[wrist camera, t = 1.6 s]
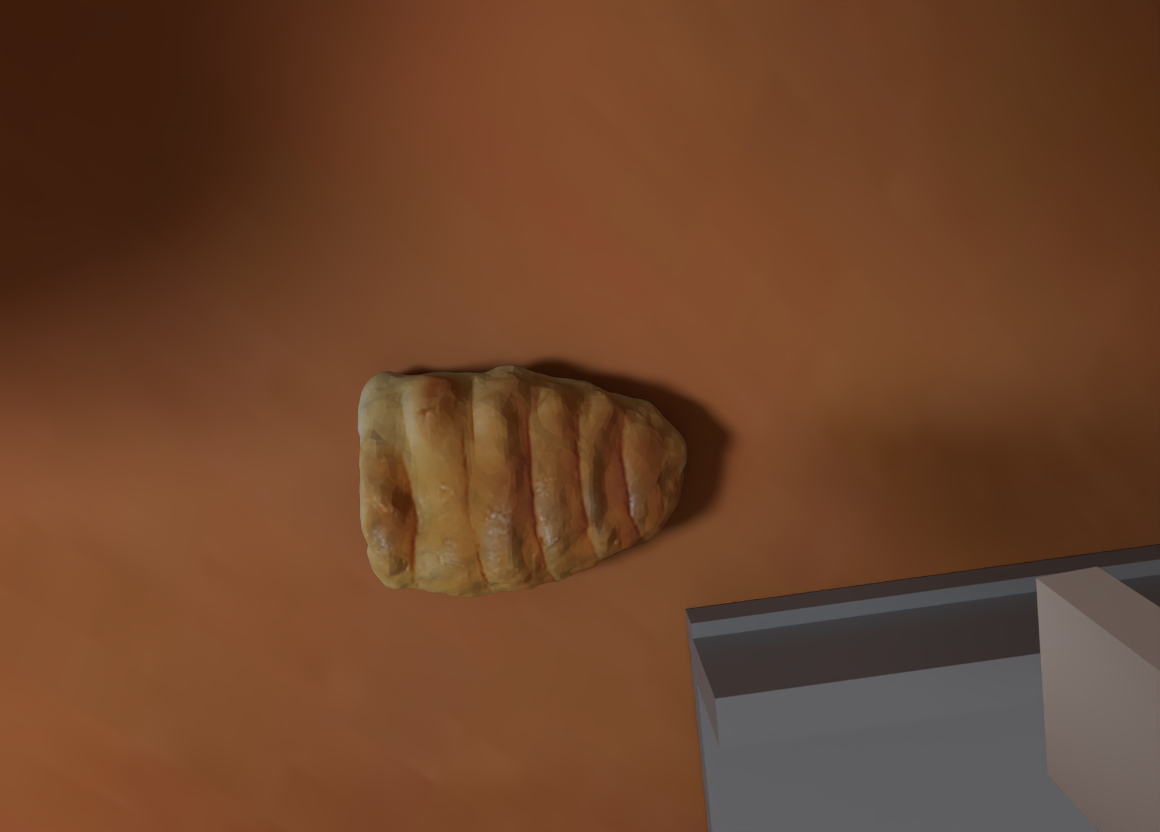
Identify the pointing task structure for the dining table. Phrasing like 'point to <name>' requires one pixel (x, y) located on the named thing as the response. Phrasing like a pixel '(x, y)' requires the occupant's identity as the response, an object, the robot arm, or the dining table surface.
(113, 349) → the dining table surface
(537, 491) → the pastry
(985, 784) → the tray
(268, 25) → the dining table surface
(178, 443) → the dining table surface
